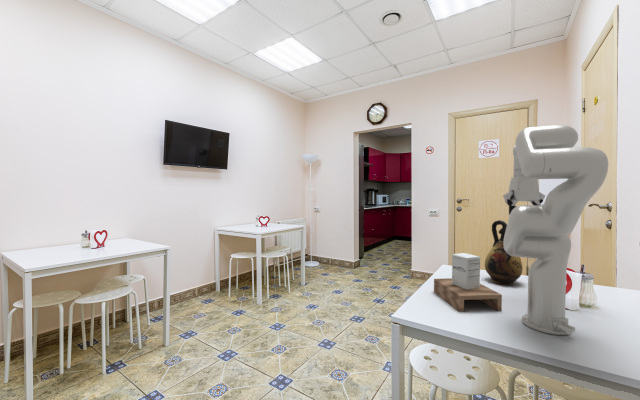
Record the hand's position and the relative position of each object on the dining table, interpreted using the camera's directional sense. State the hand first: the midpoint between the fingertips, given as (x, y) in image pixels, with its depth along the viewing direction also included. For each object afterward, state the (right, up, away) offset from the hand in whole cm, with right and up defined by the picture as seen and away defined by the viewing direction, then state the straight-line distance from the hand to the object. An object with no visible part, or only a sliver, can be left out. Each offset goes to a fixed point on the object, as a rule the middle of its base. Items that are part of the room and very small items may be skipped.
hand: (523, 215), depth 114 cm
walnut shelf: (-26, -34, -3) cm, 43 cm away
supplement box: (-26, -29, -3) cm, 39 cm away
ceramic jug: (+5, -34, +21) cm, 40 cm away
